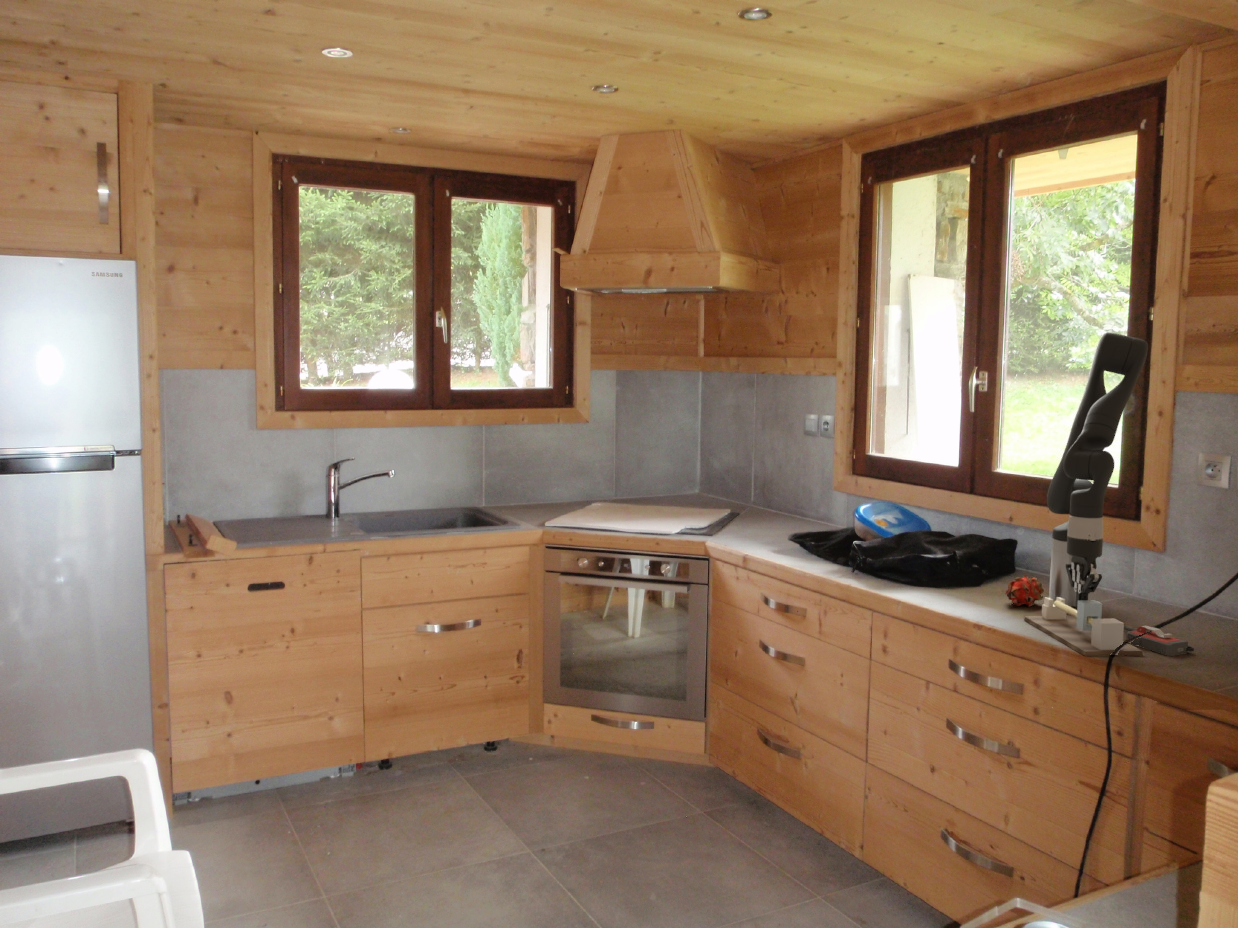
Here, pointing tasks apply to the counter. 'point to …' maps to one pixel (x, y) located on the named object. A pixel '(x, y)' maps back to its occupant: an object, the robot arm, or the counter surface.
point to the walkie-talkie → (1158, 641)
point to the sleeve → (1087, 613)
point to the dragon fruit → (1024, 591)
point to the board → (1075, 636)
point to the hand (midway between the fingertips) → (1081, 608)
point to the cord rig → (1103, 630)
